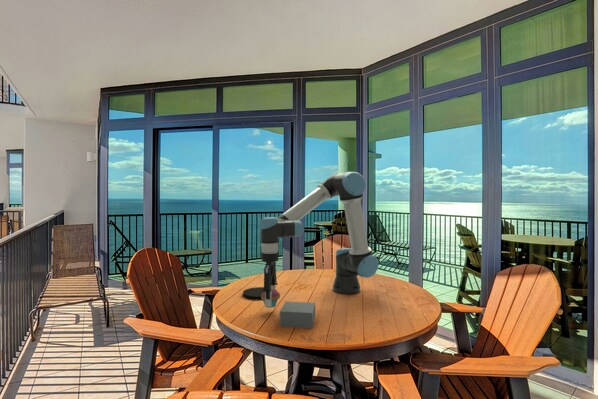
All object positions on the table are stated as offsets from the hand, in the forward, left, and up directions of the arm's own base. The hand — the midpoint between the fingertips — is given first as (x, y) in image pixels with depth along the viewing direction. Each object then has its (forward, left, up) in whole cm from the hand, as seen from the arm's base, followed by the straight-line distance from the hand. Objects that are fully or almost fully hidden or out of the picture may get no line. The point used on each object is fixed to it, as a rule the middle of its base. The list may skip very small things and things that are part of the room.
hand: (270, 302), depth 152 cm
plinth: (-14, +9, -4) cm, 17 cm away
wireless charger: (+11, -26, -5) cm, 29 cm away
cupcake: (0, 0, -2) cm, 2 cm away
